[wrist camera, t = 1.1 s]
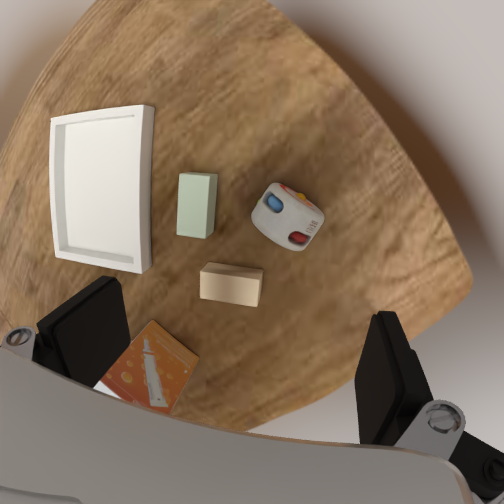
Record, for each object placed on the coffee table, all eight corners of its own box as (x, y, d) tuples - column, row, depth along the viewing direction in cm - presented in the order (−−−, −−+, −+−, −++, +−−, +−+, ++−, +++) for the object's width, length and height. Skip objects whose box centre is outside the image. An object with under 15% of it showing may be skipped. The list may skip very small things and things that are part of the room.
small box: (201, 357, 37) (163, 430, 25) (176, 378, 39) (139, 445, 27) (152, 316, 36) (97, 379, 24) (132, 342, 39) (82, 401, 26)
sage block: (214, 231, 32) (205, 238, 29) (187, 227, 32) (176, 234, 29) (218, 174, 30) (209, 176, 27) (190, 171, 30) (179, 173, 27)
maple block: (263, 268, 32) (259, 279, 29) (261, 294, 33) (256, 307, 30) (209, 261, 33) (200, 271, 30) (208, 286, 34) (199, 297, 31)
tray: (151, 266, 34) (141, 273, 32) (67, 251, 36) (55, 257, 34) (154, 107, 28) (143, 104, 26) (64, 118, 30) (51, 118, 28)
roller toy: (276, 172, 29) (269, 176, 23) (330, 209, 29) (336, 222, 23) (252, 209, 30) (240, 222, 25) (305, 245, 30) (304, 264, 25)
